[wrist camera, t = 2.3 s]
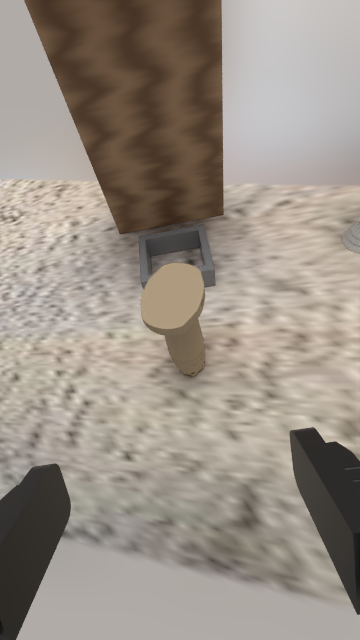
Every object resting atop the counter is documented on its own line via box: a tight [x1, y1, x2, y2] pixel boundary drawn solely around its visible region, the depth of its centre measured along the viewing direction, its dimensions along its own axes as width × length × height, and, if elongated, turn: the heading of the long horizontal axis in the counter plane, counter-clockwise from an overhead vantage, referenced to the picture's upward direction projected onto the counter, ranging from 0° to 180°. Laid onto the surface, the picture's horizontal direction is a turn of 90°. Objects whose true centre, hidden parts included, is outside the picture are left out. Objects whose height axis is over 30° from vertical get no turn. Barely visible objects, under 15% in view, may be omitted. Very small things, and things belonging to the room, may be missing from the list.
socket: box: [139, 224, 215, 289], centre depth 42 cm, size 10×9×4 cm
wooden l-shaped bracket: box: [25, 0, 223, 234], centre depth 33 cm, size 18×14×32 cm
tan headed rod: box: [140, 263, 205, 377], centre depth 29 cm, size 5×6×15 cm
